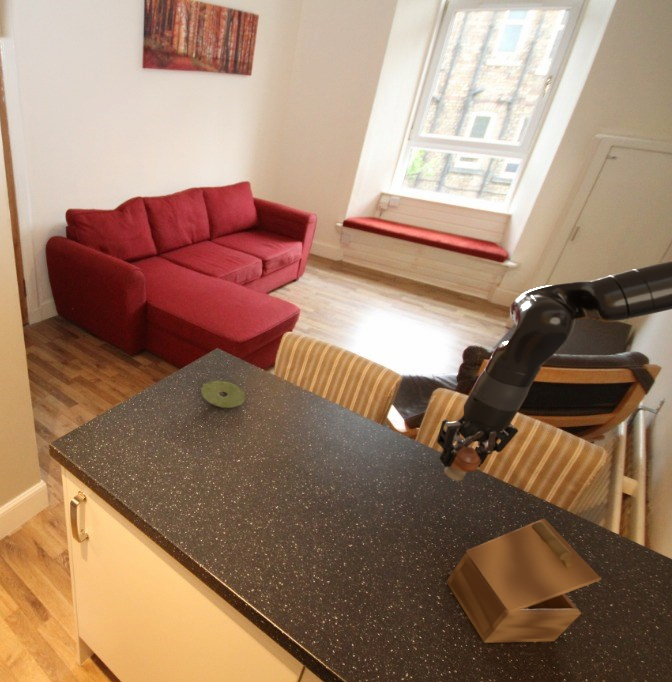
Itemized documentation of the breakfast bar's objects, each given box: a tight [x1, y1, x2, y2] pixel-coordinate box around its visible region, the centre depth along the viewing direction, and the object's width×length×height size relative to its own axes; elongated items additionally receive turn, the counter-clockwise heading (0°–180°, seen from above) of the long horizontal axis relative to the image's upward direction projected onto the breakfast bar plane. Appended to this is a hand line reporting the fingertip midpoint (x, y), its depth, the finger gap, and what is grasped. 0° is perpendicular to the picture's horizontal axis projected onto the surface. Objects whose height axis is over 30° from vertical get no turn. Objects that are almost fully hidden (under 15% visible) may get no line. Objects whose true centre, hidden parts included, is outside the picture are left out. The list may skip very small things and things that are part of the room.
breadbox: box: [445, 553, 582, 644], centre depth 69 cm, size 11×9×8 cm
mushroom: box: [444, 444, 481, 482], centre depth 89 cm, size 6×6×7 cm
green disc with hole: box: [200, 380, 246, 409], centre depth 113 cm, size 11×11×2 cm
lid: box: [465, 518, 602, 613], centre depth 64 cm, size 12×9×5 cm
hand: (459, 463), depth 89 cm, fingers closed on mushroom, 5 cm apart
